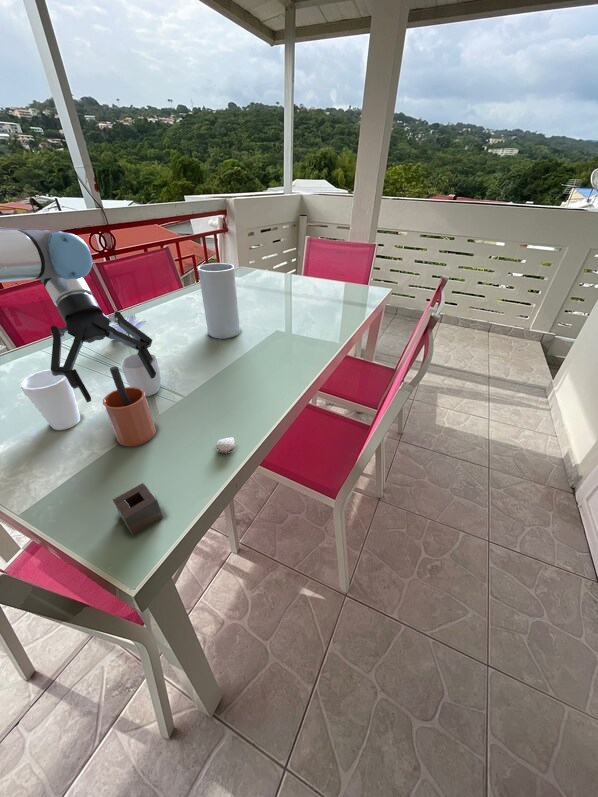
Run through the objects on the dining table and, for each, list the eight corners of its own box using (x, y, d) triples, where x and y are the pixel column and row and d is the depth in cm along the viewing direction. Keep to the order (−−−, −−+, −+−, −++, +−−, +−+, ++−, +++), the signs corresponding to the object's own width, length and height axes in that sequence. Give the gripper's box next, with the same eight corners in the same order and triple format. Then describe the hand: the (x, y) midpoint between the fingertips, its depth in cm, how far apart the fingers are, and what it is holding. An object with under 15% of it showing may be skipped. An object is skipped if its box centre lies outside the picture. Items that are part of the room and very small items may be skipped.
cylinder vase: (214, 342, 124) (204, 273, 110) (204, 330, 133) (193, 265, 119) (245, 335, 129) (239, 268, 115) (233, 324, 138) (226, 261, 124)
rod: (131, 433, 80) (107, 369, 70) (136, 429, 81) (113, 365, 71) (136, 435, 79) (113, 370, 69) (141, 431, 81) (119, 367, 70)
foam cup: (94, 419, 85) (76, 375, 78) (57, 439, 79) (32, 394, 71) (74, 407, 89) (55, 365, 82) (37, 425, 83) (12, 381, 75)
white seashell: (213, 452, 76) (211, 444, 74) (225, 439, 79) (224, 431, 78) (229, 457, 74) (228, 449, 73) (241, 444, 78) (240, 436, 77)
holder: (120, 516, 61) (112, 499, 58) (149, 499, 65) (143, 482, 62) (133, 536, 58) (125, 519, 55) (163, 517, 61) (157, 499, 59)
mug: (158, 399, 93) (150, 368, 87) (126, 399, 92) (115, 368, 87) (171, 376, 103) (164, 347, 98) (141, 376, 103) (133, 347, 97)
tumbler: (109, 440, 78) (93, 403, 72) (136, 420, 85) (123, 384, 79) (138, 450, 76) (124, 412, 70) (163, 428, 82) (152, 391, 76)
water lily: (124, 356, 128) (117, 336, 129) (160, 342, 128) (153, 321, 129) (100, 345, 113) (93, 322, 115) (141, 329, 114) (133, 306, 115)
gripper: (131, 298, 81) (173, 373, 81) (8, 325, 67) (58, 416, 66) (135, 280, 75) (180, 361, 75) (-1, 305, 61) (55, 406, 60)
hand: (123, 387), depth 71 cm, fingers open, 13 cm apart
